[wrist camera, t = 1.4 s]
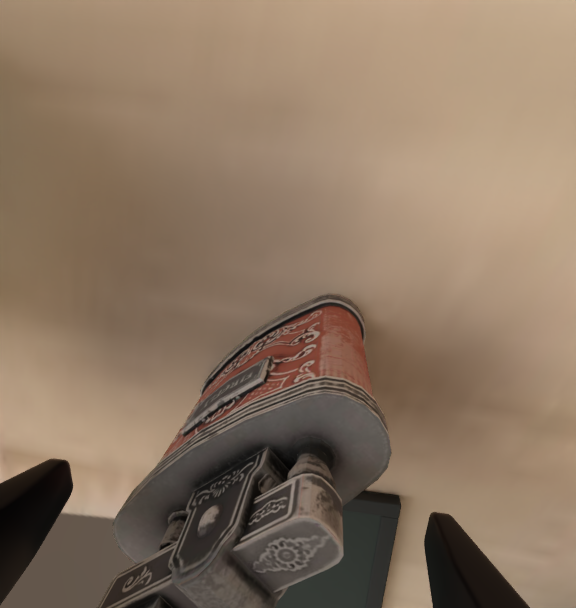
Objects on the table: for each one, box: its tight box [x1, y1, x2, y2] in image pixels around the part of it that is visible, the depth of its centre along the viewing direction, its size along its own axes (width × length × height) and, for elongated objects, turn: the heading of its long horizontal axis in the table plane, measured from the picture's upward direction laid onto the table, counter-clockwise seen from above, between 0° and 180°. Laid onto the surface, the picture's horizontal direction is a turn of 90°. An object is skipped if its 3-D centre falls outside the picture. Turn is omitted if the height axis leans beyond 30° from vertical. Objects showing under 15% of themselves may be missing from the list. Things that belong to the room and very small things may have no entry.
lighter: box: [97, 294, 391, 608], centre depth 11 cm, size 8×3×10 cm, turn 129°
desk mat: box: [158, 463, 401, 608], centre depth 19 cm, size 12×11×1 cm
